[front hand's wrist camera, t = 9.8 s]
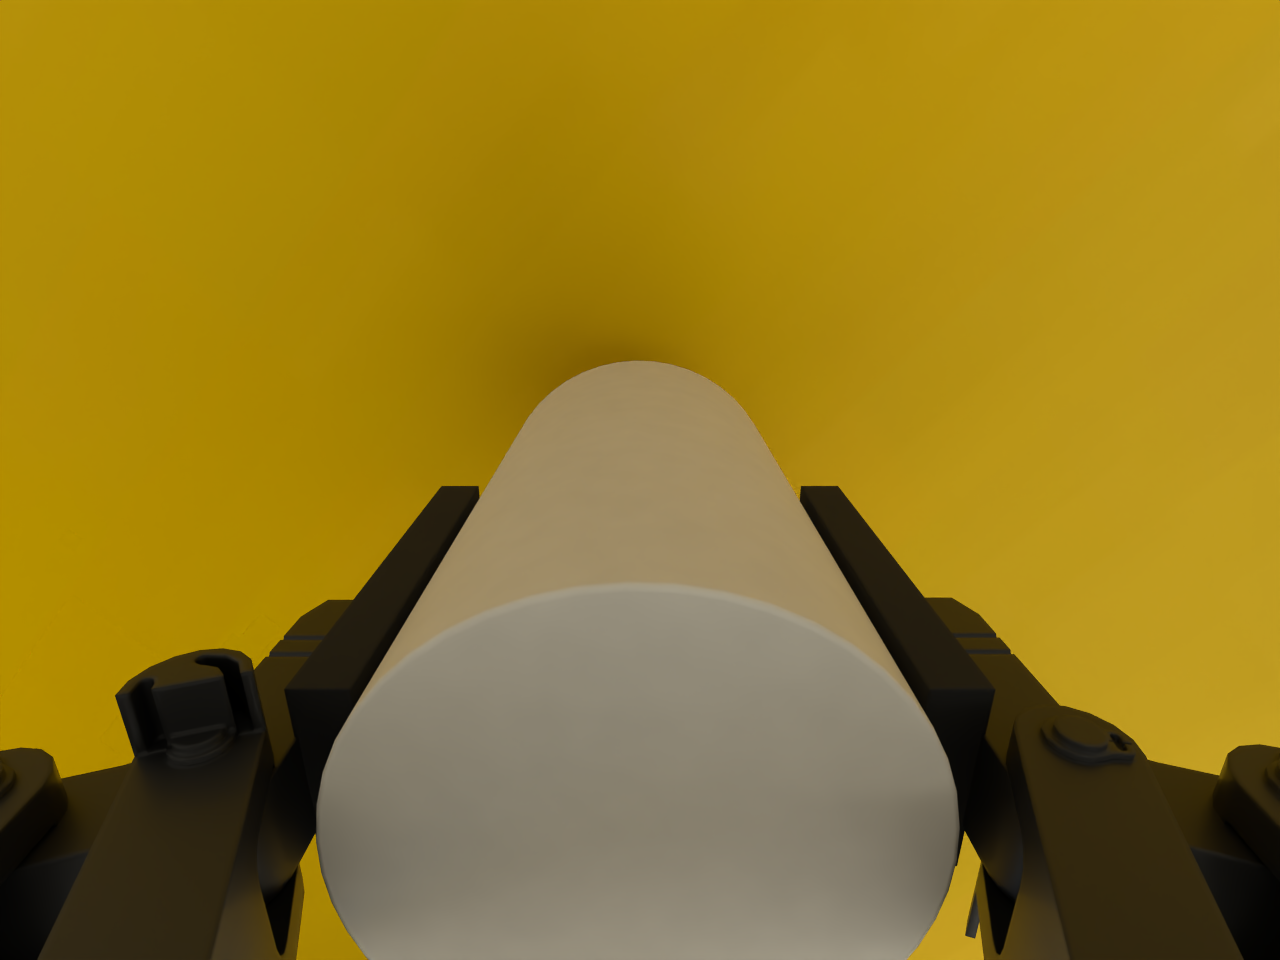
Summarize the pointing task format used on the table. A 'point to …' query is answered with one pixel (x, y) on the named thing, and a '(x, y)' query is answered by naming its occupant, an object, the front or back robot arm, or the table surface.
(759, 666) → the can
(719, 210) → the table surface
